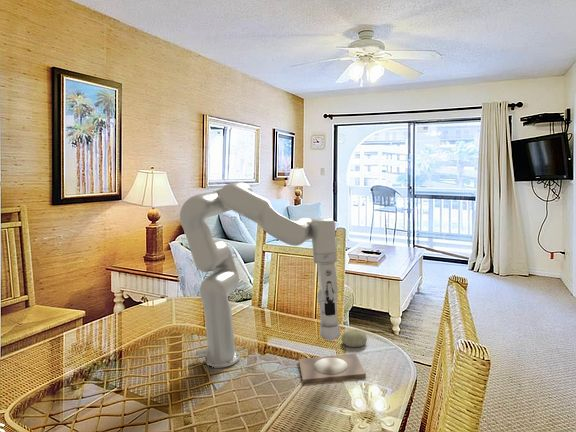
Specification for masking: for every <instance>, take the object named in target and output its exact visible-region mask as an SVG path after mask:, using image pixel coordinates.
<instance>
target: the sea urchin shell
mask: <svg viewBox="0 0 576 432" xmlns="http://www.w3.org/2000/svg"><path fill="white" fill-rule="evenodd" d="M341 341H342V344H343V345H345V346H346V347H349V348H360V347H363V346H365V345H366V343H367V341H368V337H367V335H366V333H365V332H364V331H362V330H360V329H353V328H352V329H348V330H346V331H345V332H343V333H342V334H341Z"/></svg>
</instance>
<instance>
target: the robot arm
mask: <svg viewBox="0 0 576 432" xmlns="http://www.w3.org/2000/svg"><path fill="white" fill-rule="evenodd" d="M229 211H233V212H235V213H236V214H239V215H241V216H243V217H244V218H246V219H248V220H250V221H252V222H253V223H256V224H257V225H258V226H259V227H260V228H261V229H262V230H263V231H264V232H265V233H266V234H268V235H269V236H271V237H272V238H275V239H277V240H278V241H280V242H283V243H285V244H286V245H289V246H294V247H296V246H300V245H302V244H303V243H305V242H306V241H307V242H308V241H309V240H311V241H312V242H311V243H312V257H313V258H312V260H313V263H314V264H315V265H316V264H317V266H316V267H317V268H316V269H317V279H318V286H319V290H320V289H321V291H322V293H323V294H324V296H325V303H324V305H325V315H326V316H328V315H335V302H334V295H333V291H334V293H336V294H338V293H339V290H338V281H337V270H336V264H335V263H337V262H338V255H337V254H338V253H337V252H338V251H337V240H336V239H337V236H336V223H335V220H334V219H332V218H328V217H321V218H309V217H299V218H296V219H295V220H293V219H289V218H288V217H286V216H285V215H284V216H283V215H282V214H280V213H278V212H277V211H276V210H275V209H274V208H273V206H272V203H271V202H270V200H269V199H267V198H266V197H263V196H261V195H260V194H257V193H255V192H253V189H252V187H251V186H250V185H249V184H247V183H245V182H243V181H237V182H231V183H228V184H225V185H223V187H221V188H219V189H217V190H213V191H211V192H205V193H199V194H196V195H193V196H190V197H189V198H188V199H187V200H186V201H184V203H183V204H182V206H181V208H180V211H179V221H180V224H181V227H182V229H183V233H184V234H185V237H186V239H187V243H188V248H189V250H190V253H191V256H192V259H193V262H194V265H195V267H196V268H197V270H199V271H200V272H201V273H209V272H211V271H212V273H211V274H210V275H208V276H207V277H206V278H204V279H203V281H202V282H201V283H200V286H199V296H200V299H201V302H202V306H203V307H202V308H203V312H204V320H205V321H204V323H205V331H206V343H207V348H205V349H196V350H195V356H197V357H198V358H199V359H200V358H201V359H202V358H204V363H205V362H206V363H207V364H208V365H210V366H212V367H211V368H213V367H214V368H213V369H223V368H227V367H230V366H233V365H235V364H236V363H237V362H239V360H240V358H241V354H240V352H239V351H238V350H236V346H235V335H234V322H233V320H234V319H233V310H232V306H231V304H230V301H229V297H228V296H230V294H232V293H234V292H235V291H236V290H237V288H238V287H239V285H240V276H239V273H238V272H239V271H238V269H237V266H236V263H235V260H234V257H233V254H232V251H231V248H230V247H229V246H228V245H227V243H226V242H224V241H222V240H218V239H214V238H213V234H212V232H211V229H210V227H209V226H208V224H207V223H206V219H207V218H211V217H214V216H218V215H220V214H223V213H227V212H229ZM326 292H328V293H326ZM327 295H328V297H327Z"/></svg>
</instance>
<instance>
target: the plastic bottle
mask: <svg viewBox="0 0 576 432" xmlns="http://www.w3.org/2000/svg"><path fill="white" fill-rule="evenodd" d="M326 293H328V292H326ZM333 295H334V302H335V315H328V316H326V315H325V305H324V303H325V296H324V294H323V293H322V291H321V289H320V288H319V290H318V292H317V302H318V307H319V312H320V324H319V325H320V326H319V334H320V337H321V338H322V339H323V340H324V341H325V340H326V341H335V340H338V339H339V337H340V336H341V328H340V324H339V318H338V298H339V297H338V293H337V294H336V293H334V291H333ZM327 297H328V295H327Z"/></svg>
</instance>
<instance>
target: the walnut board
mask: <svg viewBox="0 0 576 432" xmlns="http://www.w3.org/2000/svg"><path fill="white" fill-rule="evenodd" d="M298 366H299V369H300V375H301V379H302V384H310V383H320V382H330V381H340V380H350V379H361V378H366V377H367V375H366V371H365V369H364V367H363V365H362V363H361V362H360V359H359V357H358V355H357V353H349V354H348V353H347V354H340V355H339V354H338V355H328V356H317V357H316V356H315V357H304V358H299V359H298Z"/></svg>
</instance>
